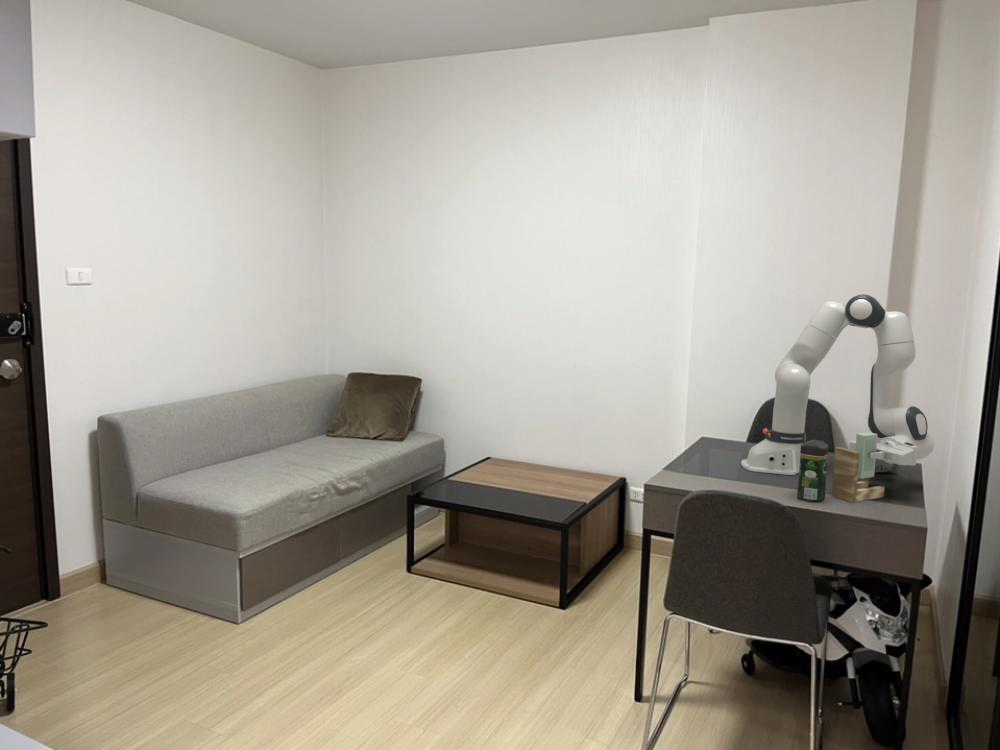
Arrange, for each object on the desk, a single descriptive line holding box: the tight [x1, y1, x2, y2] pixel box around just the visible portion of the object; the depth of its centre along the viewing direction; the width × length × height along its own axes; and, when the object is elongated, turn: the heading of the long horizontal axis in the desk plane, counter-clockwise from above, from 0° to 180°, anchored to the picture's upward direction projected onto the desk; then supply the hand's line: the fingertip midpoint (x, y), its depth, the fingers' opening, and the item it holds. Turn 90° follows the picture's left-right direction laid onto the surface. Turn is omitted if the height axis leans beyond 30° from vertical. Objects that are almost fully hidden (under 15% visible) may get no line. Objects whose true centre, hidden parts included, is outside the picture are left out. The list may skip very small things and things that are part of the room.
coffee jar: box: [796, 439, 829, 502], centre depth 242 cm, size 10×8×19 cm
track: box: [831, 446, 886, 503], centre depth 245 cm, size 15×8×16 cm, turn 115°
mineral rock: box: [875, 459, 900, 473], centre depth 274 cm, size 13×11×10 cm
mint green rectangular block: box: [855, 431, 878, 480], centre depth 245 cm, size 6×3×14 cm, turn 115°
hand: (863, 454), depth 244 cm, fingers closed on mint green rectangular block, 3 cm apart
